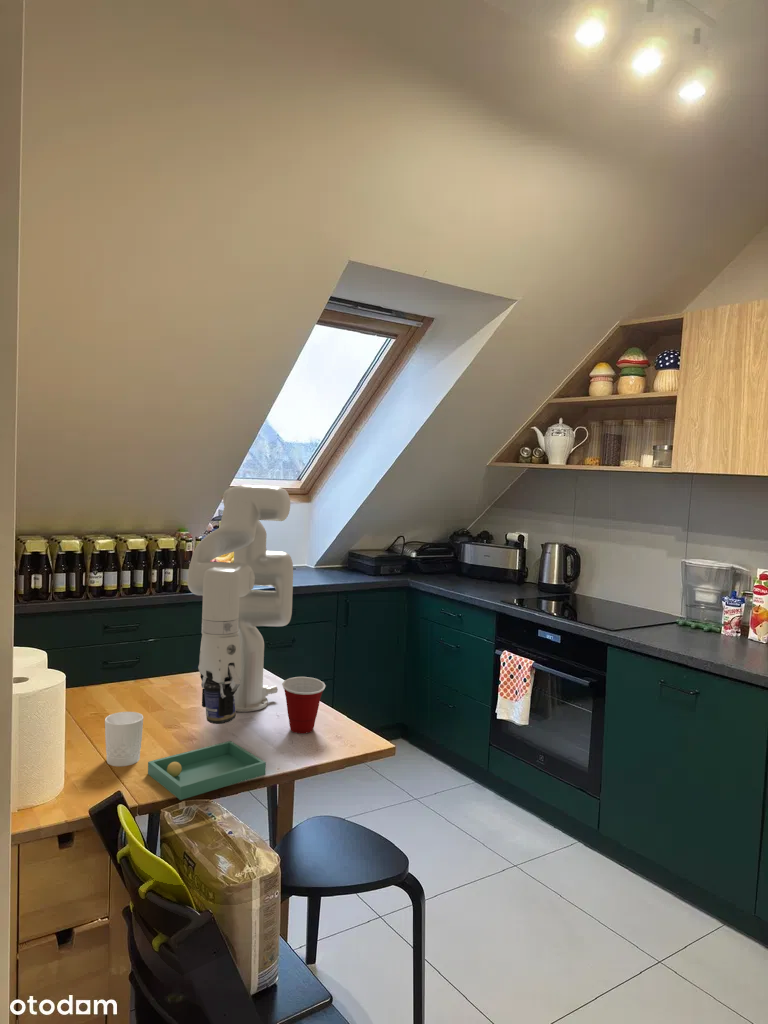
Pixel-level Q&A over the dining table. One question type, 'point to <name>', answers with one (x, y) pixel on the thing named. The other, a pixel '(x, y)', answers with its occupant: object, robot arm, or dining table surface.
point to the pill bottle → (215, 701)
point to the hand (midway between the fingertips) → (217, 709)
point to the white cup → (123, 738)
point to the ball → (174, 769)
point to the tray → (207, 769)
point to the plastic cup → (302, 702)
